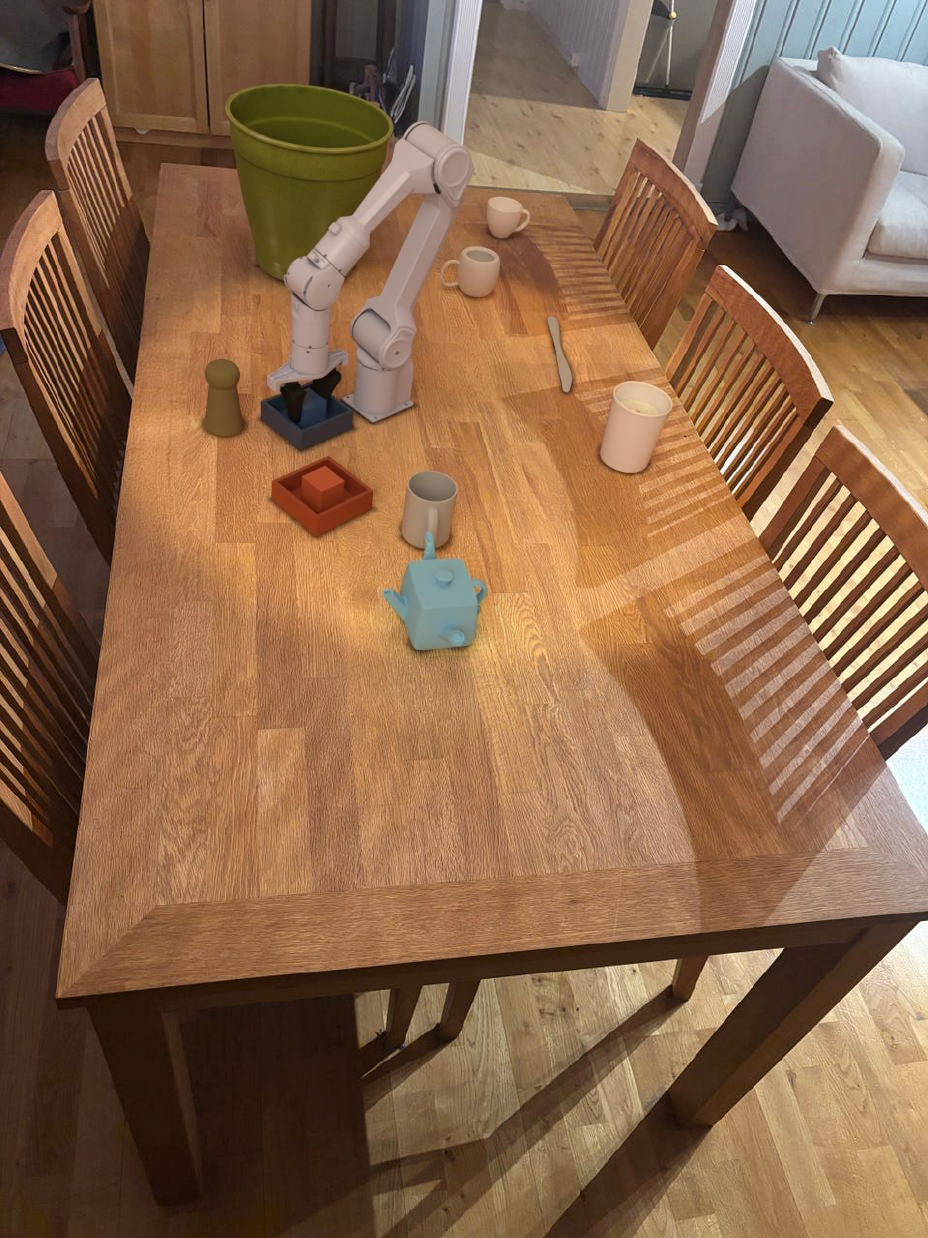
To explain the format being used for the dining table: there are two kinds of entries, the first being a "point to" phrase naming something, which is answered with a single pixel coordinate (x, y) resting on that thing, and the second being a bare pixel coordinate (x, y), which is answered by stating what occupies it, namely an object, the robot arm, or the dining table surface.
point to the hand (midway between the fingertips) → (306, 414)
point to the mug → (475, 271)
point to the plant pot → (302, 163)
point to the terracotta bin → (353, 504)
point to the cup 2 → (505, 216)
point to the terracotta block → (322, 489)
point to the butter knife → (560, 355)
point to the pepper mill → (223, 398)
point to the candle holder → (634, 425)
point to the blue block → (311, 410)
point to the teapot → (438, 601)
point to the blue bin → (335, 424)
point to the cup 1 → (428, 507)
